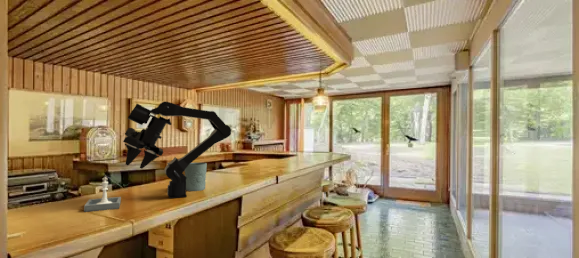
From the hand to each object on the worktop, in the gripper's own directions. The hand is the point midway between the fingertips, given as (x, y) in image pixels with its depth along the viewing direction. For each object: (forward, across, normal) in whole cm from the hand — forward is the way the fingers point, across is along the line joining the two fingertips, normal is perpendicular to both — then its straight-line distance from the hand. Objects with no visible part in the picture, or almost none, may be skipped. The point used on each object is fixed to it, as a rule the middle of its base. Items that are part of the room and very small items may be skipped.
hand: (134, 166), depth 109 cm
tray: (+16, +7, +1) cm, 17 cm away
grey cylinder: (+1, -26, +16) cm, 31 cm away
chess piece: (+15, +6, +1) cm, 17 cm away
